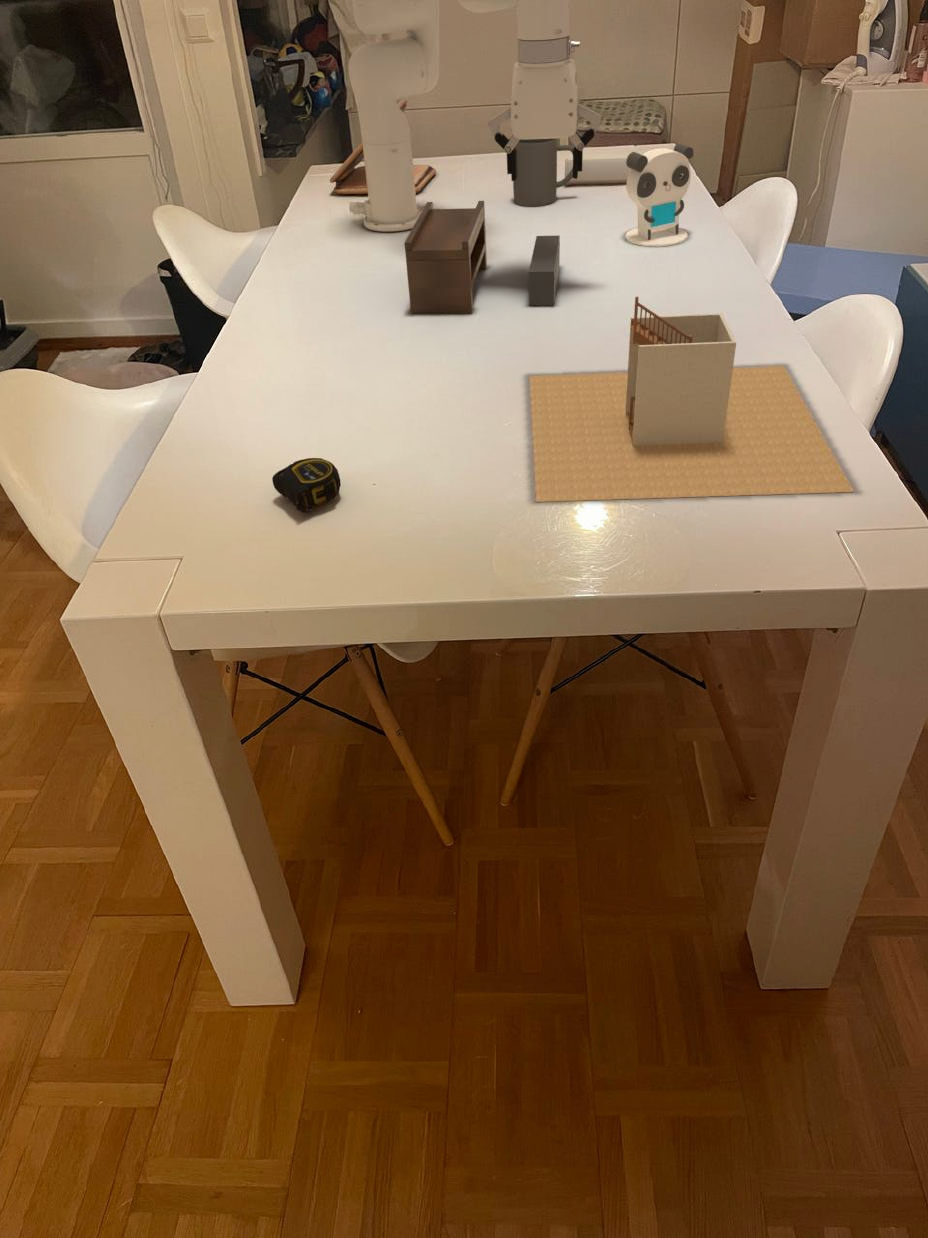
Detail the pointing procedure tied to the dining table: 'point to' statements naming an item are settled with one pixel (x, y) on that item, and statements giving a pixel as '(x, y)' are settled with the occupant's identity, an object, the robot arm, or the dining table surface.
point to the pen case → (544, 271)
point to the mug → (538, 171)
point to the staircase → (677, 423)
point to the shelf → (445, 259)
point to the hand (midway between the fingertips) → (544, 177)
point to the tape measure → (308, 483)
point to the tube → (599, 171)
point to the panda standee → (658, 194)
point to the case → (355, 178)
